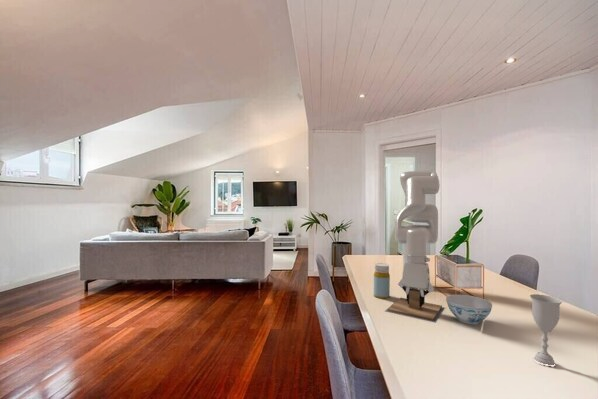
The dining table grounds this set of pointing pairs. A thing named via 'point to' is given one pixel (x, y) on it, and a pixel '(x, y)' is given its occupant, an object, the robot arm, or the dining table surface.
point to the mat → (420, 318)
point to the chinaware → (469, 308)
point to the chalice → (545, 321)
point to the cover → (415, 306)
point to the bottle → (381, 281)
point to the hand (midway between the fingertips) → (415, 303)
